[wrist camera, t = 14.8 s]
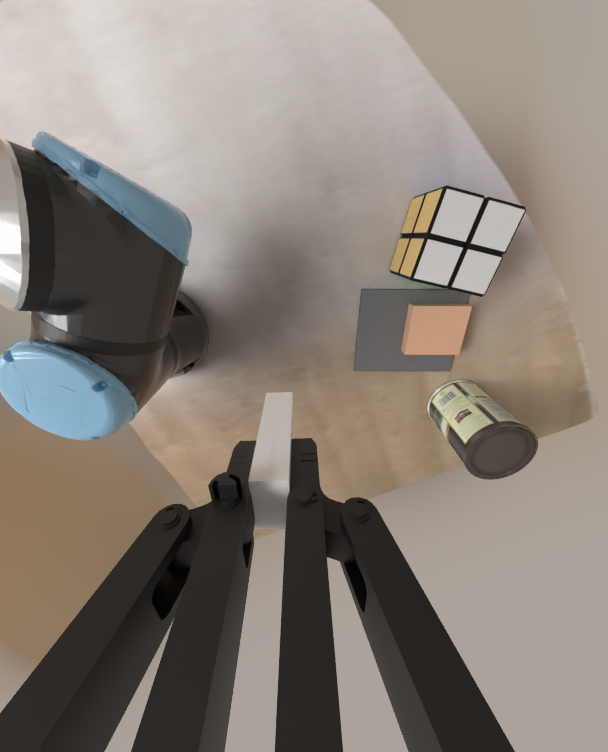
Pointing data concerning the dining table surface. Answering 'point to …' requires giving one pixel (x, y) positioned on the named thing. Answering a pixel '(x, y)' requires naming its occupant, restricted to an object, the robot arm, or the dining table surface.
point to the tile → (435, 328)
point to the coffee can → (481, 430)
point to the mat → (395, 330)
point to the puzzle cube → (455, 239)
